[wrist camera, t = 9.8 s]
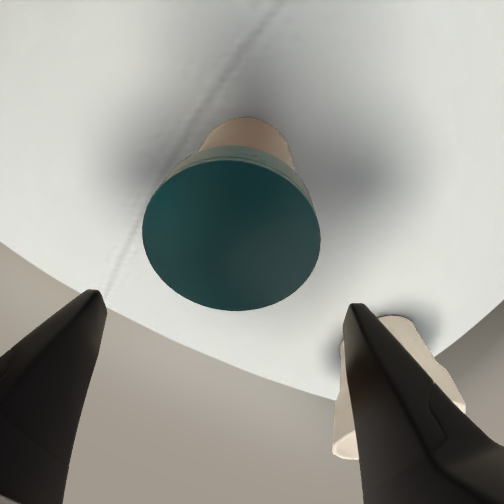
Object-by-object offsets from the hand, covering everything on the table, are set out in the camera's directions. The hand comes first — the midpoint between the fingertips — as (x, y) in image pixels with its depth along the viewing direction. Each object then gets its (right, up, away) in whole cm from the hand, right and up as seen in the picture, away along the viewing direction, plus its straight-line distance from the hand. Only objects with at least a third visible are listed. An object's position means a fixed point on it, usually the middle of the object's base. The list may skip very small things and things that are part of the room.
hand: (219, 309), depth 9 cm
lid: (0, +2, +3) cm, 3 cm away
